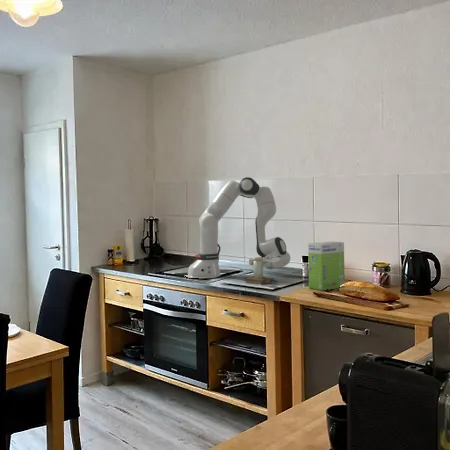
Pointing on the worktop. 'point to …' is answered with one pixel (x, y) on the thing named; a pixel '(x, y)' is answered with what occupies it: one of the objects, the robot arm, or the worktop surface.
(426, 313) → the worktop surface
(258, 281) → the walnut base
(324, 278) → the toothbrush box
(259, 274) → the spice jar
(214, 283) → the worktop surface
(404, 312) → the worktop surface
